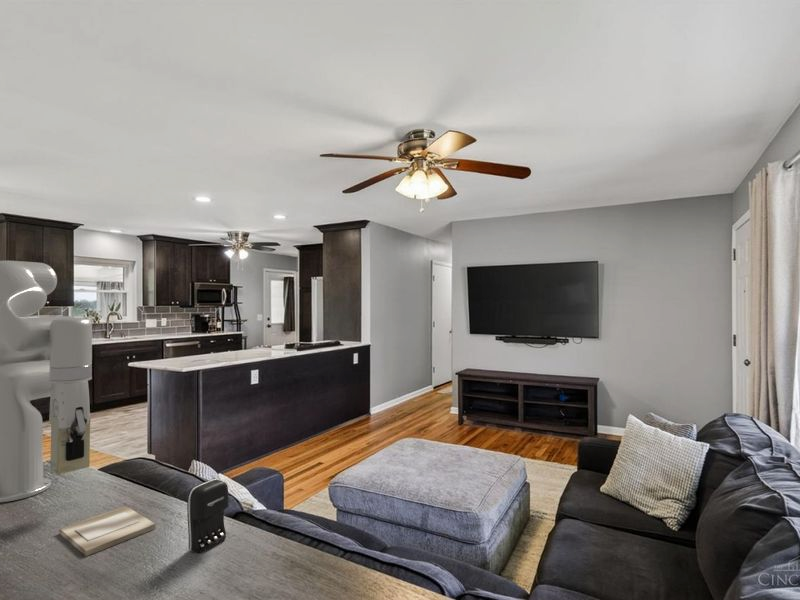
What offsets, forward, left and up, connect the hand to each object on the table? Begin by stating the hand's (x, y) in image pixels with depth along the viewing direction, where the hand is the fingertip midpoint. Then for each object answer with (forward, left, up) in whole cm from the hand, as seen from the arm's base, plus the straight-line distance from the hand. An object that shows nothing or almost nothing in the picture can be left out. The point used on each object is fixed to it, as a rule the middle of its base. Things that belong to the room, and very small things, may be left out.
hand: (70, 455), depth 98 cm
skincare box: (0, 0, -3) cm, 3 cm away
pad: (+17, +1, -12) cm, 21 cm away
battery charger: (+39, +10, -12) cm, 42 cm away
